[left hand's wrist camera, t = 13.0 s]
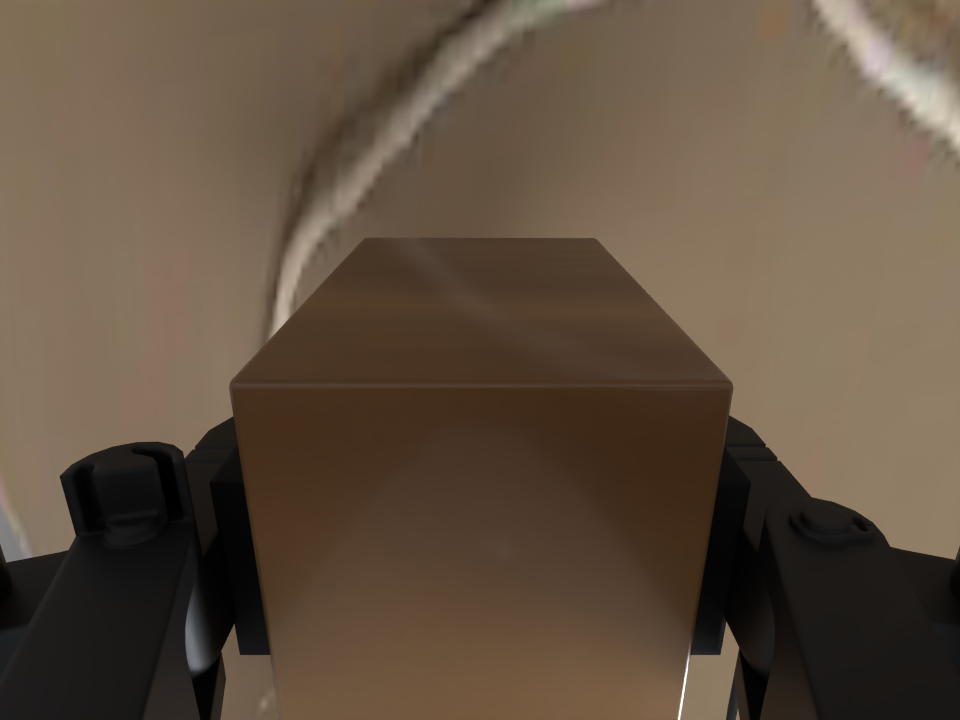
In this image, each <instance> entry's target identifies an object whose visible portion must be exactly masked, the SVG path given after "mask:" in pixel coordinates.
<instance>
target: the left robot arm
mask: <svg viewBox="0 0 960 720" xmlns="http://www.w3.org/2000/svg"><path fill="white" fill-rule="evenodd" d="M60 479H61V483H62V487H63V490H64V494H65V497H66V501H67V505H68V508H69V512H70V515H71V519H72V523H73V526H74V530H75V533H76V537H75V539H74V541H73V543H72V545H71V547H70V549H69V550H67V551H63V552H59V553H54V554H49V555H44V556H38V557H33V558H28V559H23V560H18V561H12V562H8V563H6V561H5V558H4V555H3V552H2V549H1V546H0V720H220V718H221V711H222V703H223V696H224V689H225V682H226V676H225V669H224V663H223V657H222V652H221V650H222V648H223V646H224V644H225V642H226V640H227V638H228V636H229V633H230V631H231V629H232V627H233V625H234V623H235V629H236V634H237V640H238V646H239V651H240V655H270V649H269V643H268V637H267V630H266V624H265V617H264V611H263V604H262V598H261V591H260V585H259V578H258V572H257V565H256V559H255V552H254V546H253V539H252V533H251V526H250V520H249V513H248V507H247V500H246V494H245V487H244V481H243V474H242V468H241V461H240V455H239V448H238V442H237V435H236V429H235V422H234V417H231V418H230V419H228V420H226V421H224V422H223V423H221V424H219V425H218V426H216V427H214V428H212V429H211V430H209V431H208V432H207V433H206V435H205V436H204V437H203V438H202V439H201V440H200V442H199V443H198V444H197V445H196V446H195V450H192V451H191V452H190V453H189V454H188V455H187V457H186V458H185V459H184V455H183V451H181V450H180V449H178V448H177V447H176V446H174V445H171V444H166V443H161V442H135V443H130V444H125V445H120V446H114V447H111V448H108V449H105V450H102V451H99V452H96V453H93V454H91V455H89V456H87V457H85V458H83V459H81V460H79V461H78V462H76V463H74V464H72V465H71V466H70V467H69V468H68V469H67V470H66V471H65V472H64V473H63V474H61V475H60ZM726 621H727V623H728V625H729V627H730V629H731V631H732V633H733V635H734V637H735V640H736V642H737V644H738V646H739V652H738V657H737V663H736V668H735V673H734V678H733V683H732V688H731V694H730V699H729V704H728V710H727V717H726V720H736V715H737V710H738V709H739V717H740V720H960V547H959V550H958V553H957V556H956V559H955V560H953V559H948V558H943V557H937V556H932V555H927V554H922V553H916V552H911V551H906V550H901V549H897V548H893V547H890V546H889V544H888V542H887V540H886V538H885V536H884V535H883V534H882V532H881V531H880V530H879V529H878V528H877V527H876V526H875V524H874V523H873V522H871V521H870V520H868V519H867V518H865V517H864V516H862V515H861V514H859V513H857V512H856V511H854V510H852V509H849V508H847V507H844V506H842V505H839V504H837V503H834V502H830V501H826V500H821V499H817V498H812V497H811V496H810V495H809V494H808V493H807V491H806V490H805V489H804V488H803V487H802V486H801V484H800V483H799V482H798V481H797V480H796V479H795V478H794V476H793V475H792V474H791V473H790V472H789V471H788V469H787V468H786V467H785V466H784V465H783V464H782V463H781V461H777V457H776V456H775V455H774V453H773V452H772V451H771V450H770V449H769V448H768V447H766V444H765V443H764V442H763V441H762V440H761V438H760V437H759V436H758V435H757V434H756V433H755V431H754V430H753V429H752V428H750V427H749V426H747V425H745V424H743V423H742V422H740V421H738V420H736V419H735V418H733V417H731V416H730V415H729V418H728V424H727V430H726V437H725V443H724V449H723V455H722V462H721V468H720V474H719V480H718V487H717V493H716V499H715V505H714V512H713V518H712V524H711V530H710V537H709V543H708V549H707V555H706V562H705V568H704V574H703V580H702V586H701V593H700V599H699V605H698V611H697V618H696V624H695V630H694V636H693V643H692V649H691V655H720V653H721V648H722V642H723V637H724V631H725V626H726Z"/></svg>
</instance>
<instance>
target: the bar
mask: <svg viewBox="0 0 960 720" xmlns="http://www.w3.org/2000/svg"><path fill="white" fill-rule="evenodd" d="M229 390H230V396H231V403H232V409H233V416H234V422H235V429H236V435H237V442H238V448H239V455H240V461H241V468H242V474H243V481H244V487H245V494H246V500H247V507H248V513H249V520H250V526H251V533H252V539H253V546H254V552H255V559H256V565H257V572H258V578H259V585H260V591H261V598H262V604H263V611H264V617H265V624H266V630H267V637H268V643H269V649H270V656H271V662H272V669H273V675H274V682H275V688H276V695H277V701H278V708H279V714H280V720H680V718H681V711H682V705H683V699H684V693H685V686H686V680H687V674H688V668H689V661H690V655H691V649H692V643H693V636H694V630H695V624H696V618H697V611H698V605H699V599H700V593H701V586H702V580H703V574H704V568H705V562H706V555H707V549H708V543H709V537H710V530H711V524H712V518H713V512H714V505H715V499H716V493H717V487H718V480H719V474H720V468H721V462H722V455H723V449H724V443H725V437H726V430H727V424H728V418H729V412H730V405H731V399H732V393H733V385H732V382H731V381H730V380H729V379H728V378H727V377H726V375H725V374H724V373H723V372H722V371H721V370H720V369H719V368H718V367H717V366H716V365H715V364H714V363H713V362H712V361H711V360H710V359H709V358H708V356H707V355H706V354H705V353H704V352H703V351H702V350H701V349H700V348H699V347H698V346H697V345H696V344H695V343H694V342H693V341H692V340H691V339H690V337H689V336H688V335H687V334H686V333H685V332H684V331H683V330H682V329H681V328H680V327H679V326H678V325H677V324H676V323H675V322H674V321H673V320H672V318H671V317H670V316H669V315H668V314H667V313H666V312H665V311H664V310H663V309H662V308H661V307H660V306H659V305H658V304H657V303H656V302H655V301H654V299H653V298H652V297H651V296H650V295H649V294H648V293H647V292H646V291H645V290H644V289H643V288H642V287H641V286H640V285H639V284H638V283H637V282H636V280H635V279H634V278H633V277H632V276H631V275H630V274H629V273H628V272H627V271H626V270H625V269H624V268H623V267H622V266H621V265H620V264H619V263H618V261H617V260H616V259H615V258H614V257H613V256H612V255H611V254H610V253H609V252H608V251H607V250H606V249H605V248H604V247H603V246H602V245H601V244H600V242H599V241H598V240H597V239H594V238H365V239H363V240H362V241H361V242H360V243H359V245H358V246H357V247H356V248H355V249H354V250H353V251H352V252H351V253H350V254H349V255H348V256H347V257H346V258H345V260H344V261H343V262H342V263H341V264H340V265H339V266H338V267H337V268H336V269H335V270H334V271H333V272H332V273H331V274H330V276H329V277H328V278H327V279H326V280H325V281H324V282H323V283H322V284H321V285H320V286H319V287H318V288H317V289H316V291H315V292H314V293H313V294H312V295H311V296H310V297H309V298H308V299H307V300H306V301H305V302H304V303H303V304H302V306H301V307H300V308H299V309H298V310H297V311H296V312H295V313H294V314H293V315H292V316H291V317H290V318H289V319H288V321H287V322H286V323H285V324H284V325H283V326H282V327H281V328H280V329H279V330H278V331H277V332H276V333H275V334H274V335H273V337H272V338H271V339H270V340H269V341H268V342H267V343H266V344H265V345H264V346H263V347H262V348H261V349H260V350H259V352H258V353H257V354H256V355H255V356H254V357H253V358H252V359H251V360H250V361H249V362H248V363H247V364H246V365H245V367H244V368H243V369H242V370H241V371H240V372H239V373H238V374H237V375H236V376H235V377H234V378H233V379H232V380H231V382H230V385H229Z"/></svg>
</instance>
